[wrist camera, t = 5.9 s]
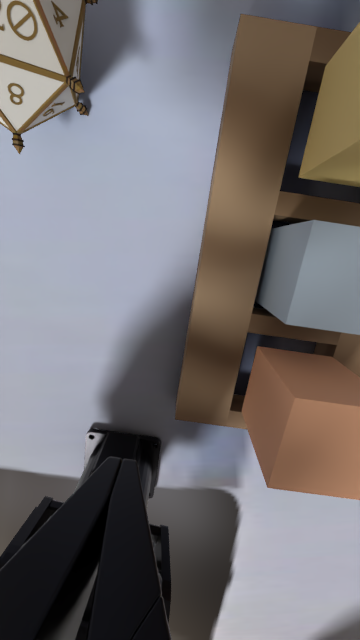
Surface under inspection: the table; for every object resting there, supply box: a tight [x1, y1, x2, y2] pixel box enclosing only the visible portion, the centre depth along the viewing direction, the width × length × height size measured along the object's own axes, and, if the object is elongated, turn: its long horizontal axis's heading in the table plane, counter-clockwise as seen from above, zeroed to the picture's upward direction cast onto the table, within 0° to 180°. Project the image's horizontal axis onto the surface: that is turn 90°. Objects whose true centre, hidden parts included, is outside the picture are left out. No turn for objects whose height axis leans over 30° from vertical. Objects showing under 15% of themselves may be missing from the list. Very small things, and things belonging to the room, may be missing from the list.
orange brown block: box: [242, 346, 360, 500], centre depth 15 cm, size 5×5×6 cm
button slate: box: [255, 220, 360, 335], centre depth 15 cm, size 5×5×6 cm
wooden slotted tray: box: [175, 14, 360, 429], centre depth 17 cm, size 24×14×2 cm, turn 172°
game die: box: [0, 0, 98, 154], centre depth 12 cm, size 9×8×10 cm
